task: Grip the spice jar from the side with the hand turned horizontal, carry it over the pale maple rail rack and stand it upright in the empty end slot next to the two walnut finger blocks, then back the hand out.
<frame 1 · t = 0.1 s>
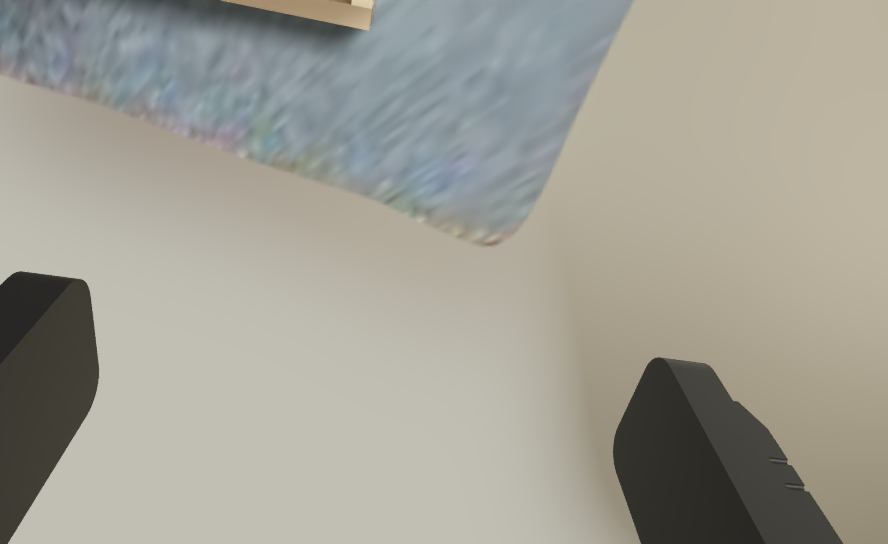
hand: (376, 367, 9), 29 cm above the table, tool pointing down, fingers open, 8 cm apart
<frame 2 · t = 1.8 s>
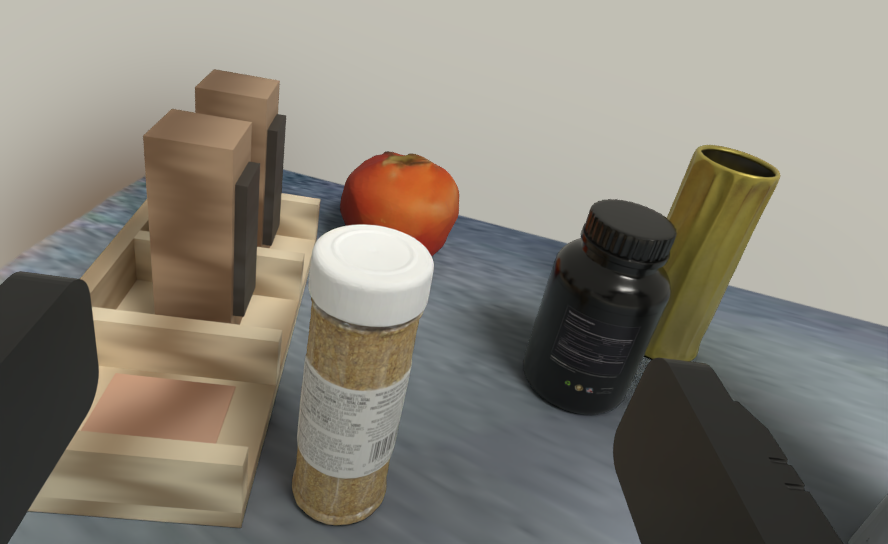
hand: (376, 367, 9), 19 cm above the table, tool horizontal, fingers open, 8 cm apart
spice jar: (338, 491, 30), on the table
rail rack: (203, 336, 37), on the table
supplement bottle: (570, 383, 40), on the table
vase: (654, 340, 46), on the table
tomato: (392, 249, 51), on the table
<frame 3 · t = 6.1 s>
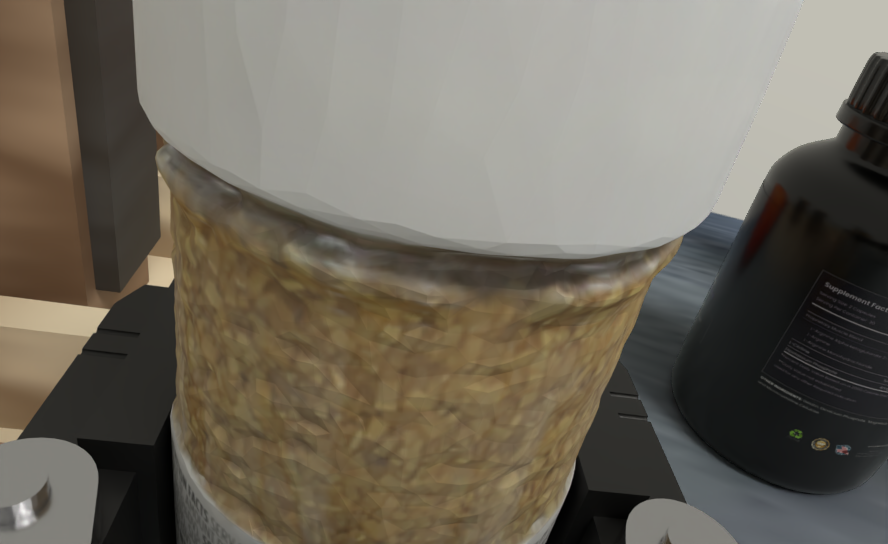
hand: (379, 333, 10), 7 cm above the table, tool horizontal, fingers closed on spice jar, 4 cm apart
rail rack: (55, 335, 18), on the table
supplement bottle: (758, 425, 22), on the table
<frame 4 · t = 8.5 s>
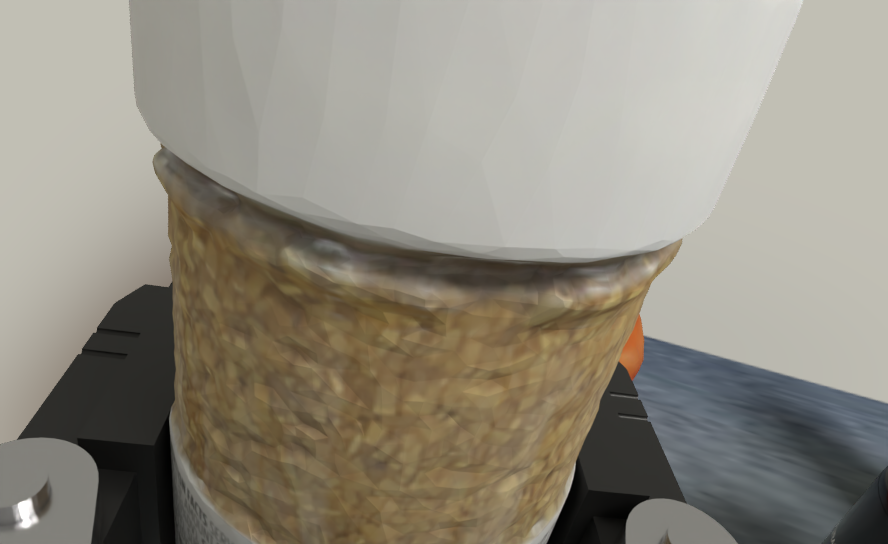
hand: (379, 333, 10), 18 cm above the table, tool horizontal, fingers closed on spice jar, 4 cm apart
tomato: (538, 392, 37), on the table
when the fingers open (9 cm above the table, at t = 10.8 s): spice jar moves 1 cm, resting on rail rack.
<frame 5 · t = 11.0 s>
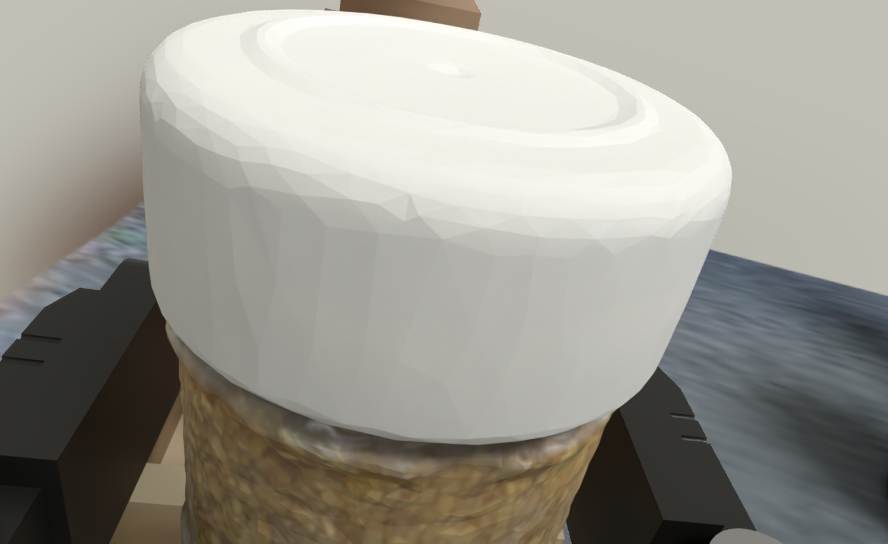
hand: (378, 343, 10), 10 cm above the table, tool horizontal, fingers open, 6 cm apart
rail rack: (342, 476, 19), on the table
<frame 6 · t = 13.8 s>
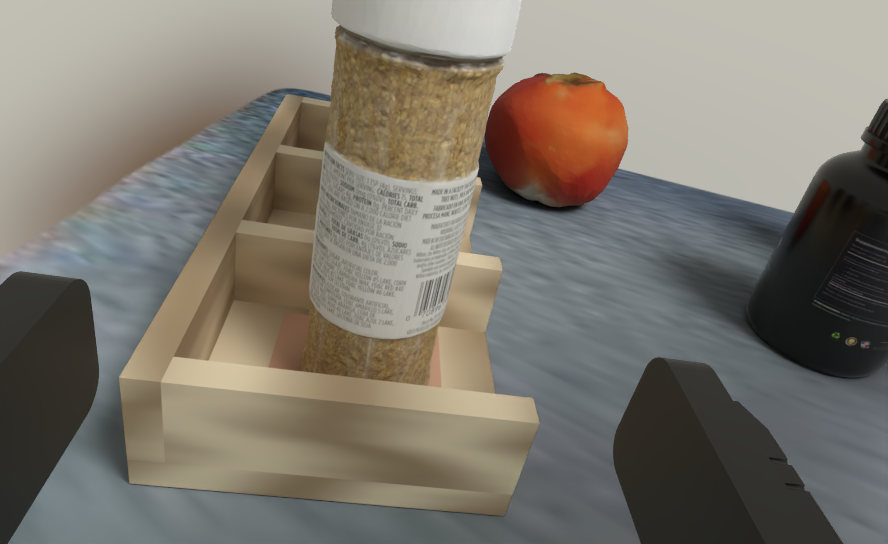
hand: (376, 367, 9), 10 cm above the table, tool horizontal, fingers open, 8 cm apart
spice jar: (363, 380, 22), point 1 cm above the table, touching rail rack
rail rack: (366, 277, 29), on the table
supplement bottle: (805, 341, 32), on the table
tomato: (538, 193, 43), on the table
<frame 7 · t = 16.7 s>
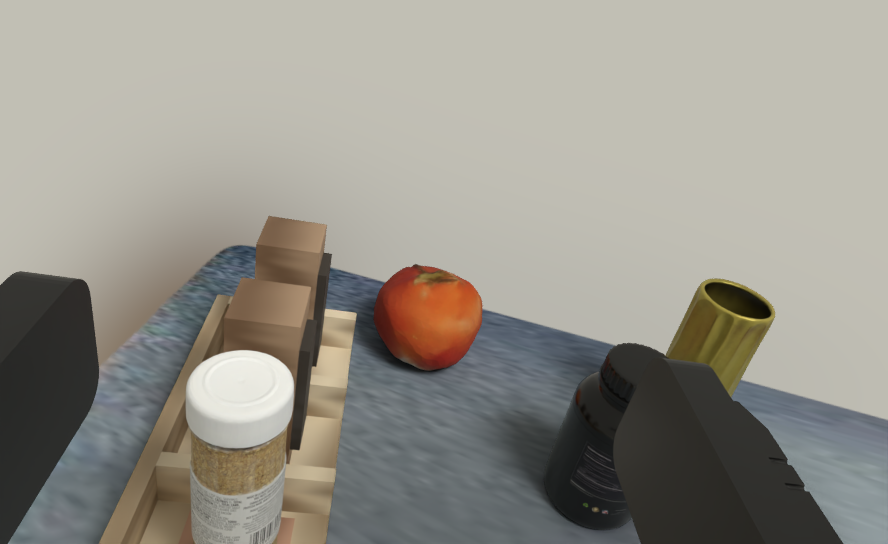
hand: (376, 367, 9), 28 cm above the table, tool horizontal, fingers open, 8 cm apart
rail rack: (260, 460, 41), on the table
supplement bottle: (586, 494, 45), on the table
vase: (661, 442, 51), on the table
tomato: (419, 351, 55), on the table
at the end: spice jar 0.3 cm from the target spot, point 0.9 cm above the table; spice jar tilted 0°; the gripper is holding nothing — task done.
